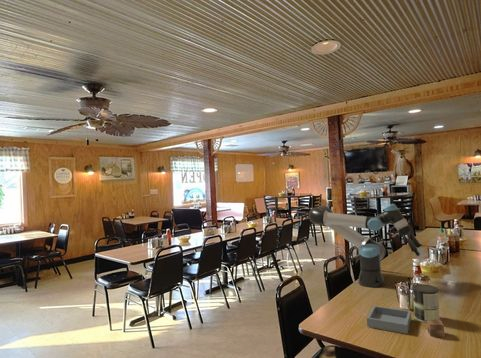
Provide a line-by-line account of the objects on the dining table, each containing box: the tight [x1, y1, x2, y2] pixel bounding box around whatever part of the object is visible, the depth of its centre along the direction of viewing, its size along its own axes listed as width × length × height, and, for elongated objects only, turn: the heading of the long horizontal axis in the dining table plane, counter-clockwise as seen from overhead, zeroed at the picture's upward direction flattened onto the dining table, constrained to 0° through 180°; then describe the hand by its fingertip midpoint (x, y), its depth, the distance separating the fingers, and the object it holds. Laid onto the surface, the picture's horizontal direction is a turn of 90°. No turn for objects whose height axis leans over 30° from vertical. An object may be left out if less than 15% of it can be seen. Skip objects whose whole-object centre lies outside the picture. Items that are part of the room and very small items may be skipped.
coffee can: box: [411, 283, 441, 324], centre depth 149 cm, size 10×10×14 cm
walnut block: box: [426, 319, 445, 339], centre depth 134 cm, size 5×5×5 cm
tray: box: [366, 305, 412, 335], centre depth 147 cm, size 16×16×4 cm
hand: (423, 258), depth 196 cm, fingers open, 13 cm apart
